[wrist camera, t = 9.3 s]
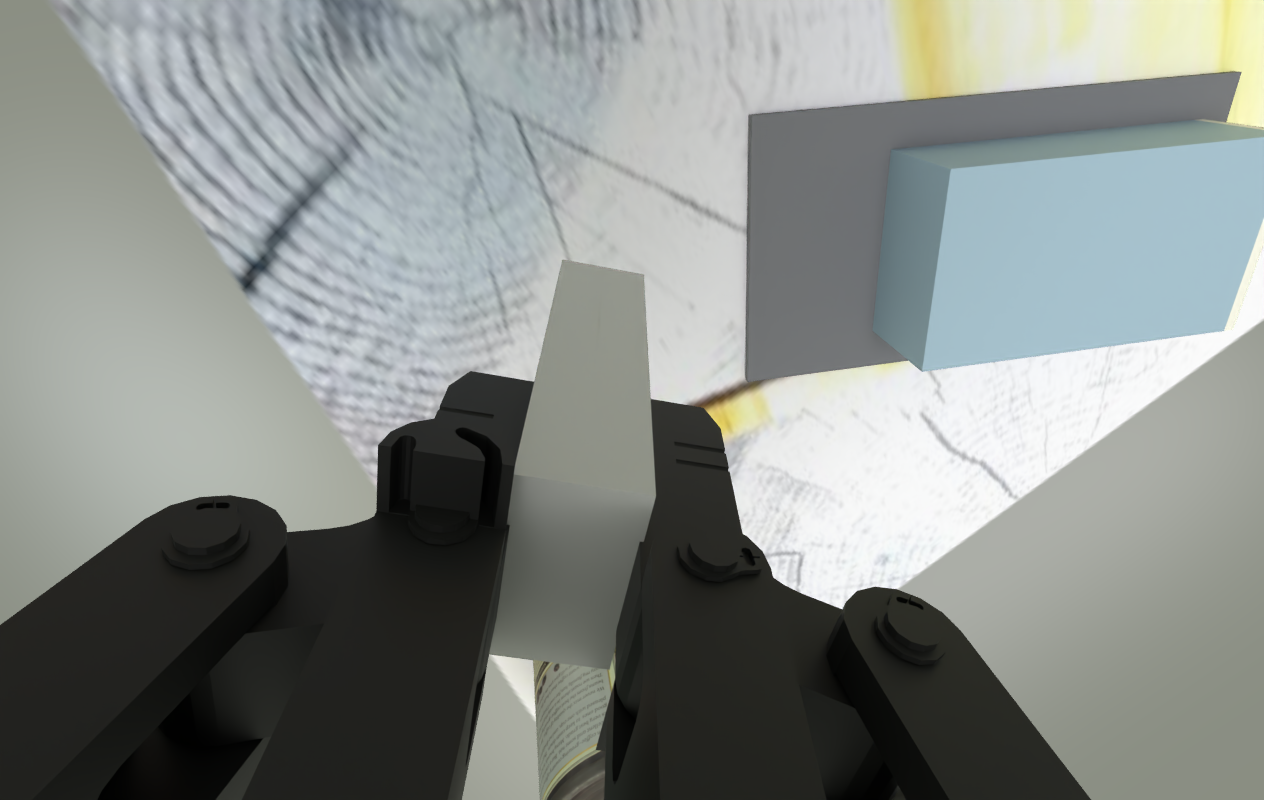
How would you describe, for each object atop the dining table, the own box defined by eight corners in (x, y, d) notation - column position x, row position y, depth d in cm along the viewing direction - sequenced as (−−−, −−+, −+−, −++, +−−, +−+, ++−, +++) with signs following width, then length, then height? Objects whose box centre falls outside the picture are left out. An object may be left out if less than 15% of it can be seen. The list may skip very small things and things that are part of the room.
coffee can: (679, 519, 42) (756, 728, 29) (707, 642, 47) (782, 865, 34) (505, 566, 41) (509, 799, 29) (552, 685, 46) (571, 928, 34)
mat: (745, 378, 38) (748, 381, 38) (748, 114, 32) (751, 115, 31) (1157, 323, 41) (1163, 326, 40) (1234, 71, 35) (1241, 71, 34)
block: (922, 371, 33) (1233, 329, 35) (950, 169, 29) (1303, 132, 31) (872, 330, 37) (1151, 295, 39) (891, 149, 33) (1202, 119, 35)
